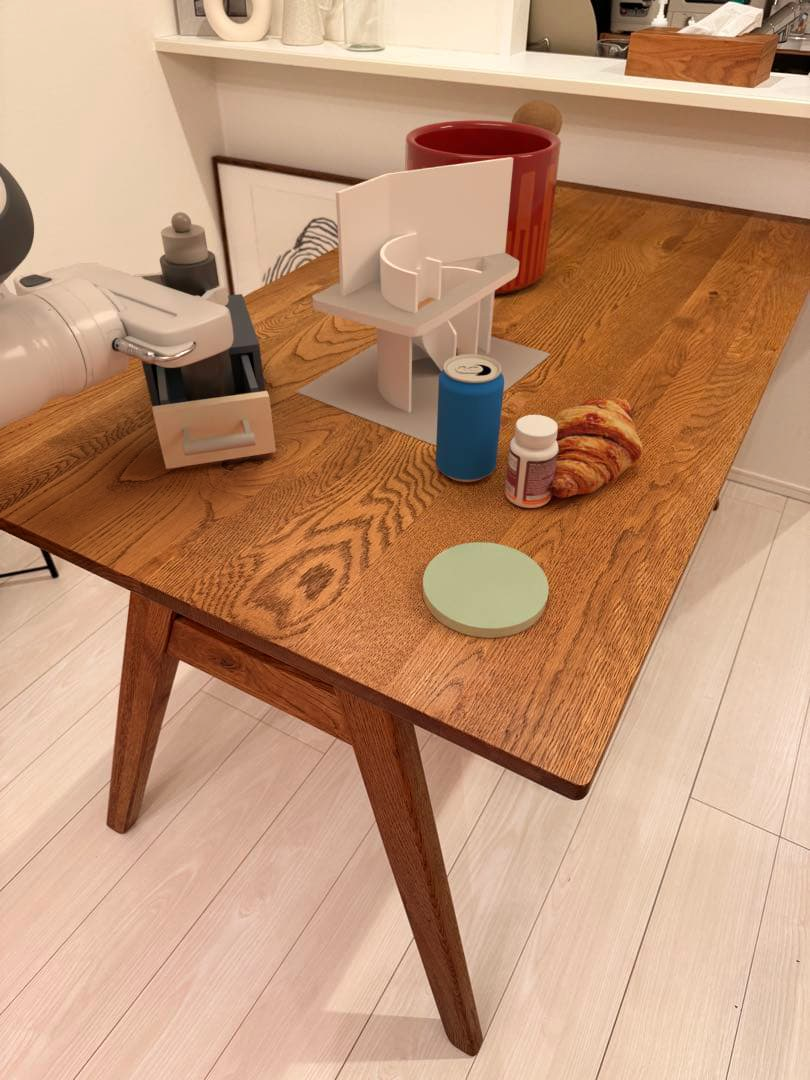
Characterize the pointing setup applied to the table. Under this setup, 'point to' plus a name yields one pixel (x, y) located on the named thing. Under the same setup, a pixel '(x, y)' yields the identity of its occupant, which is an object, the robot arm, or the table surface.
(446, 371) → the beverage can
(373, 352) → the architectural model
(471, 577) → the disc
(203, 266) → the pepper mill
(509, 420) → the table surface
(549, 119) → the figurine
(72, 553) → the table surface
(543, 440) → the pill bottle
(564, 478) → the croissant
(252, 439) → the drawer
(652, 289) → the table surface
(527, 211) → the planter
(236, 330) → the cabinet
